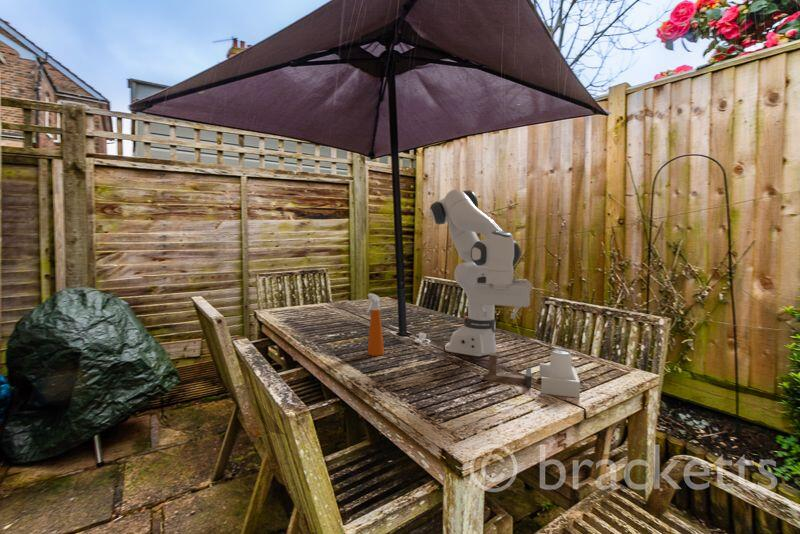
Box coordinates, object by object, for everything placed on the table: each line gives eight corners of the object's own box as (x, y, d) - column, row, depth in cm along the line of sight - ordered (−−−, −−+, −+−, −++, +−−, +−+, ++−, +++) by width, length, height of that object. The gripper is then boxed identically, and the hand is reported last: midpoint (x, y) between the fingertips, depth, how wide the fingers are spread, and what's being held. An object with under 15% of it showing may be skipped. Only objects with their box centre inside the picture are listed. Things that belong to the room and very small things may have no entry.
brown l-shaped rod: (482, 382, 126) (483, 356, 125) (484, 374, 133) (485, 349, 132) (531, 388, 121) (531, 361, 120) (530, 379, 128) (531, 354, 128)
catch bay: (541, 393, 117) (541, 377, 117) (539, 377, 130) (539, 363, 130) (579, 397, 114) (580, 382, 113) (573, 380, 127) (574, 366, 126)
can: (560, 392, 117) (562, 355, 116) (545, 385, 123) (546, 350, 122) (575, 389, 120) (576, 353, 119) (559, 382, 126) (560, 347, 125)
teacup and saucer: (416, 345, 169) (416, 336, 169) (409, 341, 177) (409, 332, 176) (433, 343, 173) (433, 334, 172) (425, 338, 180) (425, 330, 180)
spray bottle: (359, 357, 152) (358, 293, 150) (372, 349, 162) (372, 290, 159) (374, 359, 149) (374, 295, 147) (387, 352, 159) (386, 291, 156)
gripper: (531, 278, 127) (530, 318, 129) (471, 276, 134) (470, 313, 135) (532, 280, 121) (530, 322, 123) (469, 278, 128) (468, 317, 129)
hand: (498, 317), depth 129 cm, fingers open, 8 cm apart
